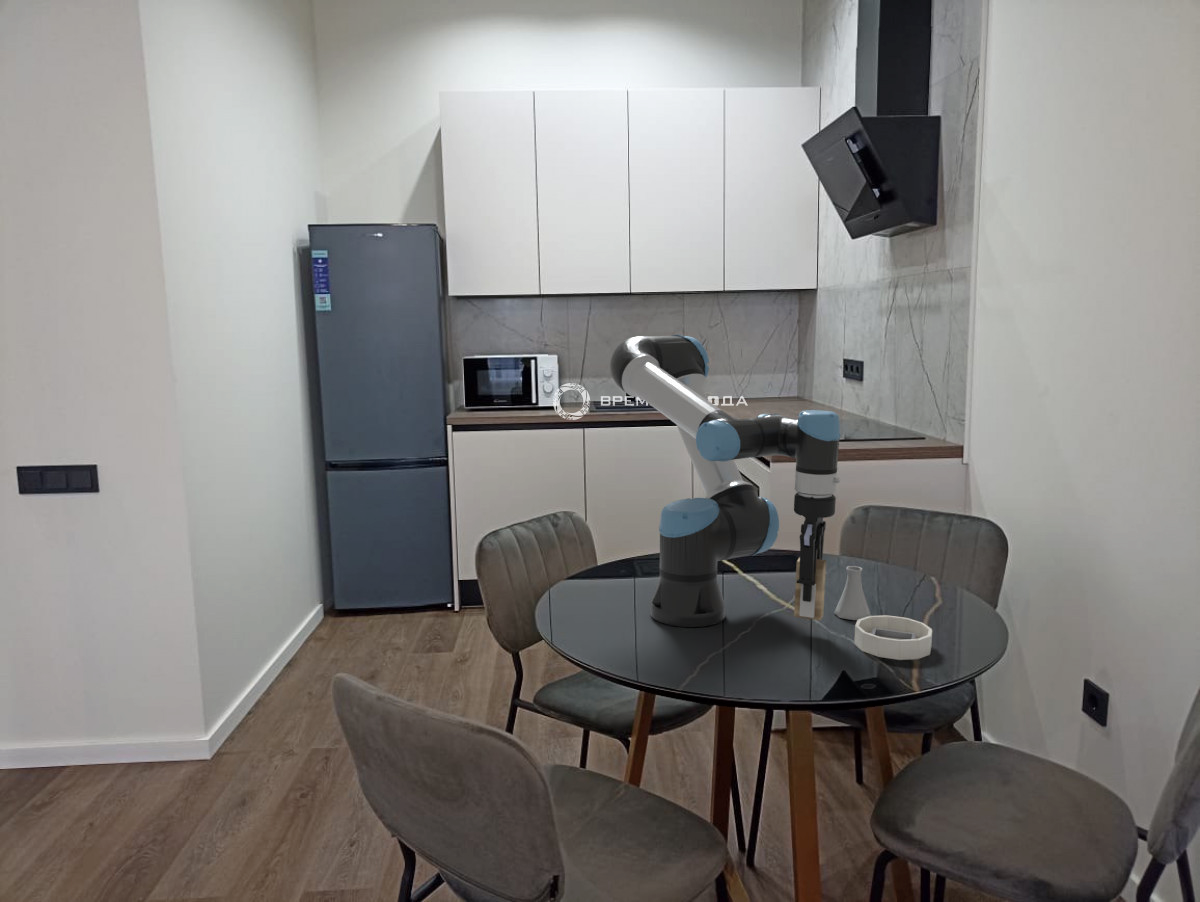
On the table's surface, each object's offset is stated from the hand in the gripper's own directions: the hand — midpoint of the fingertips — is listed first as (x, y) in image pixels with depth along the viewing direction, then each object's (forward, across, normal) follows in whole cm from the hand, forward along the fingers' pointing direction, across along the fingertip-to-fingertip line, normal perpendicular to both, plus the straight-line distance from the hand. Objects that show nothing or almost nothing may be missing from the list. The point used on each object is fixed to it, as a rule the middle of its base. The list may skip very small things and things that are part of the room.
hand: (808, 612), depth 166 cm
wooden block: (+1, 0, 0) cm, 1 cm away
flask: (+4, +14, -6) cm, 16 cm away
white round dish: (+4, 0, -16) cm, 16 cm away
